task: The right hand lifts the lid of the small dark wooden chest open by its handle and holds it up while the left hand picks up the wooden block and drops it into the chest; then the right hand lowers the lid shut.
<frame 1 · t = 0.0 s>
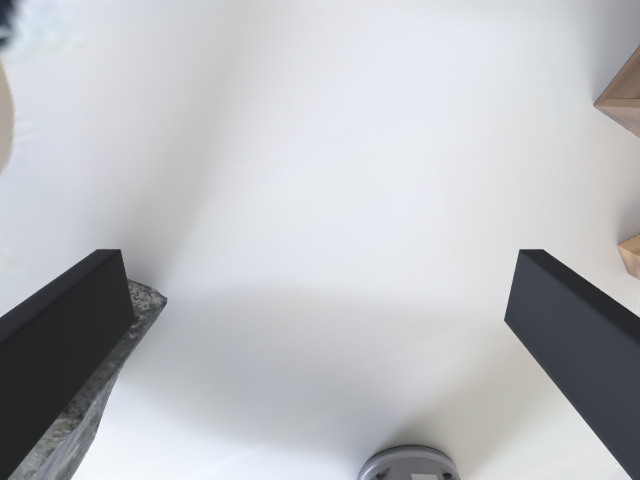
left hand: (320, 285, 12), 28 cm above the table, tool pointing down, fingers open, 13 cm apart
concrete block: (112, 346, 47), on the table
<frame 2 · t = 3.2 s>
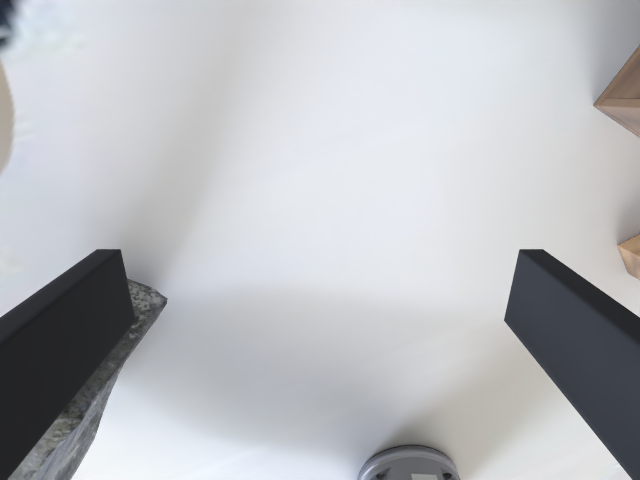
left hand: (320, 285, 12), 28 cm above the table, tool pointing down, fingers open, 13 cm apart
concrete block: (112, 346, 47), on the table
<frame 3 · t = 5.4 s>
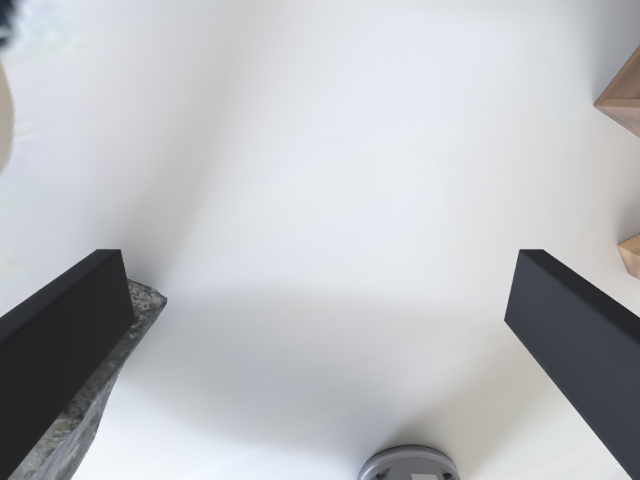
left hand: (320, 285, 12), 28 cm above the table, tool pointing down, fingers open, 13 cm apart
concrete block: (112, 346, 47), on the table
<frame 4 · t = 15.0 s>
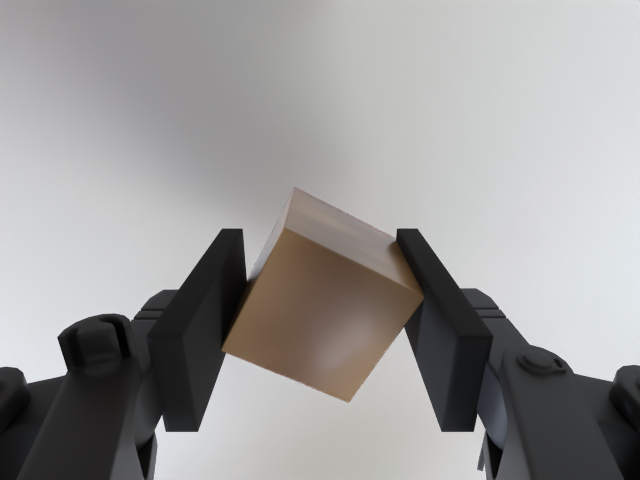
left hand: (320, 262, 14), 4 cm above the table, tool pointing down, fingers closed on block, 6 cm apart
block: (319, 259, 14), point 3 cm above the table, touching left hand
when the left hand's fingers open (17 cm above the table, at t = 18.1 s): block drops 13 cm and tips over, resting on chest.
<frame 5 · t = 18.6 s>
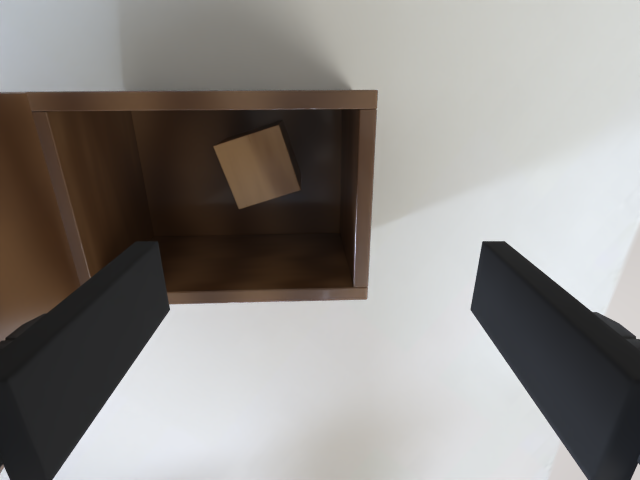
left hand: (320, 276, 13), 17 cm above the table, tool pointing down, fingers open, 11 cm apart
chest: (244, 171, 29), on the table, touching block
block: (291, 153, 25), point 3 cm above the table, tilted 89°, touching chest
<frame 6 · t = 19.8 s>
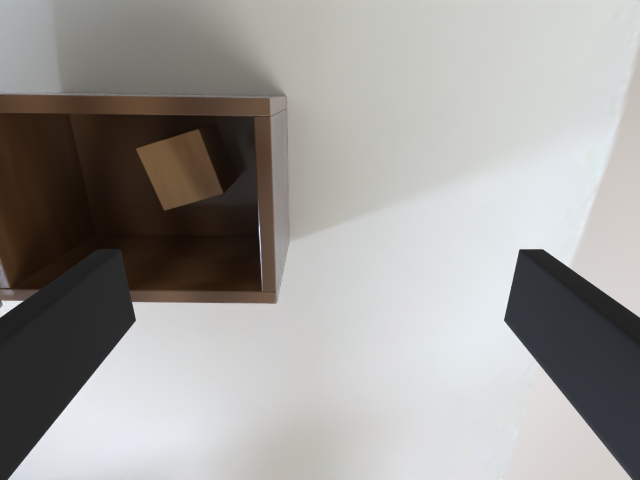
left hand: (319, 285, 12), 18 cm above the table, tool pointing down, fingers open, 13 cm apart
chest: (183, 173, 29), on the table, touching block
block: (219, 156, 26), point 3 cm above the table, tilted 90°, touching chest
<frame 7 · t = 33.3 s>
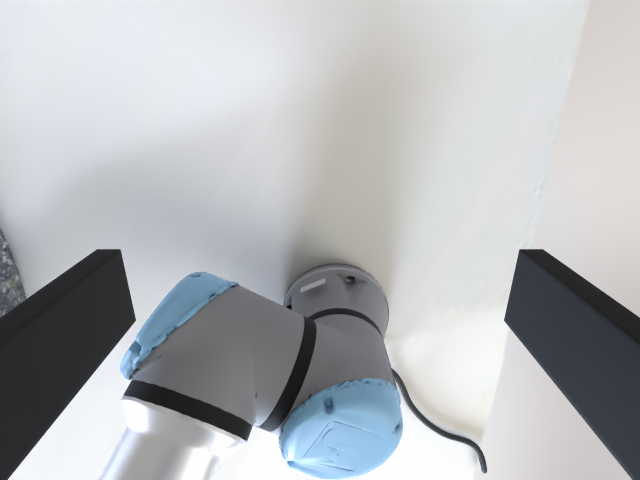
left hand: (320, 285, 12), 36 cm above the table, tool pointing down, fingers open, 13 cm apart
concrete block: (11, 293, 54), on the table
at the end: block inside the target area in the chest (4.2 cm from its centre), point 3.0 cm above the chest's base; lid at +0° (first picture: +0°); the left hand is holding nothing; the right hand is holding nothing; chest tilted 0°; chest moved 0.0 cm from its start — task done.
